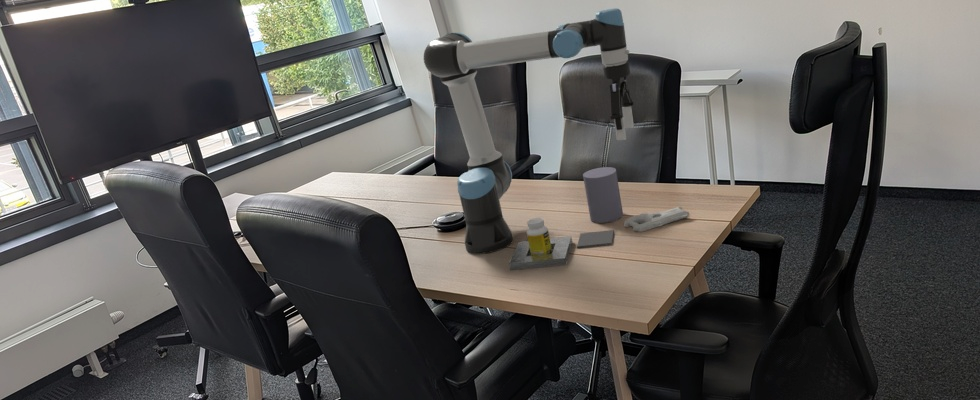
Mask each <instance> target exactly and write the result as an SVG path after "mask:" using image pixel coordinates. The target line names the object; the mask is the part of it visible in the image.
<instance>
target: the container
mask: <svg viewBox="0 0 980 400" xmlns="http://www.w3.org/2000/svg"><path fill="white" fill-rule="evenodd" d="M582 178H583V183H584V190H585V194H586V202H587V206H588V212H589V218H590V221H591V222H594V223H596V224H597V223H598V224H606V223H612V222H615V221H618V220H619V219H621V218H622V217H623V216H624V211H623V205H622V199H621V193H620V186H619V182H618V181H619V180H618V173H617V169H616V168H615V167H612V166H611V167H610V166H609V167H608V166H603V167H596V168H593V169H590V170H587V171H585V172H584V173H582Z"/></svg>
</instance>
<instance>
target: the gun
mask: <svg viewBox="0 0 980 400" xmlns="http://www.w3.org/2000/svg"><path fill="white" fill-rule="evenodd" d="M689 216H690V212H689V211H688V210H683V208H682V206H677V207H673V208H671V209H668V210H664V211H655V212H643V213H639V214H637V215H634V216H630V217H628V218H627V219H626V220H625V222H624V223H623V225H624V228H627V227H630V226H631V227H632V230H633V232H639V233H640V232H645V231H649V230H652V229H655V228H659V227H662V226H664V225H667V224H669V223H672V222H673V223H674V222H676V221H680V220H682V219H685V218H688V217H689Z"/></svg>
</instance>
